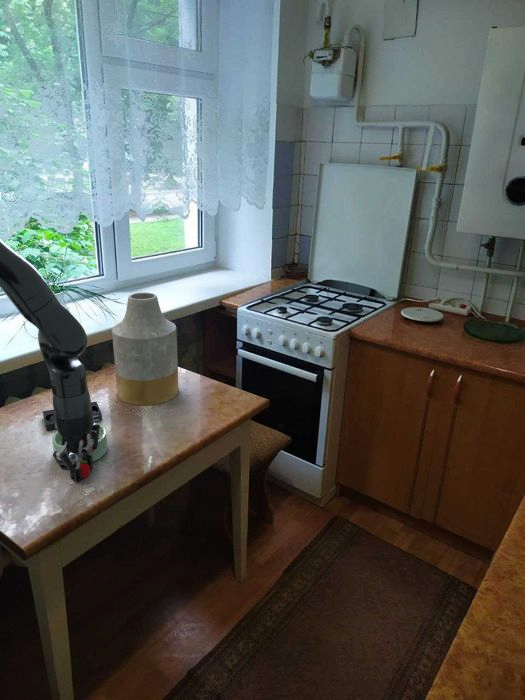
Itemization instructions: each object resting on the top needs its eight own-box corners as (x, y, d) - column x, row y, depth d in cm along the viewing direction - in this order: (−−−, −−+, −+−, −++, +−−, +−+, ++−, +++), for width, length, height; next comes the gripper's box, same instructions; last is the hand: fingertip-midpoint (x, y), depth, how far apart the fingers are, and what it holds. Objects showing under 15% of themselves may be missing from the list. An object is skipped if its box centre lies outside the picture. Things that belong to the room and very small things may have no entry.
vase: (104, 395, 149) (94, 298, 138) (145, 374, 164) (140, 284, 153) (151, 411, 141) (145, 309, 130) (190, 387, 156) (188, 293, 145)
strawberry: (82, 481, 109) (85, 463, 110) (68, 477, 110) (71, 460, 110) (92, 478, 113) (94, 461, 113) (78, 475, 114) (81, 458, 114)
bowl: (88, 471, 114) (86, 453, 112) (43, 461, 117) (40, 443, 115) (117, 444, 125) (115, 426, 123) (75, 435, 128) (73, 418, 126)
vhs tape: (46, 431, 129) (45, 424, 129) (43, 417, 136) (42, 411, 135) (102, 420, 136) (101, 413, 135) (97, 407, 142) (96, 401, 141)
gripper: (78, 391, 113) (87, 454, 119) (35, 422, 100) (47, 491, 107) (107, 396, 111) (114, 460, 117) (66, 428, 98) (77, 498, 105)
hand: (82, 474), depth 112 cm, fingers closed on strawberry, 3 cm apart
